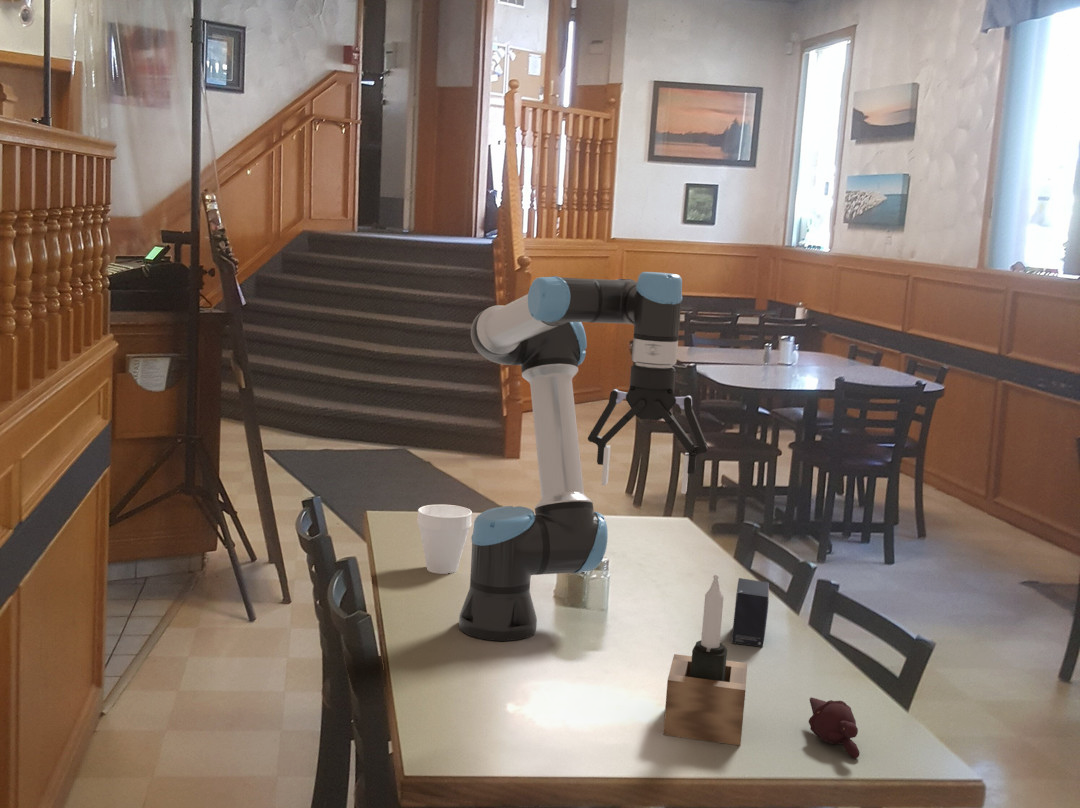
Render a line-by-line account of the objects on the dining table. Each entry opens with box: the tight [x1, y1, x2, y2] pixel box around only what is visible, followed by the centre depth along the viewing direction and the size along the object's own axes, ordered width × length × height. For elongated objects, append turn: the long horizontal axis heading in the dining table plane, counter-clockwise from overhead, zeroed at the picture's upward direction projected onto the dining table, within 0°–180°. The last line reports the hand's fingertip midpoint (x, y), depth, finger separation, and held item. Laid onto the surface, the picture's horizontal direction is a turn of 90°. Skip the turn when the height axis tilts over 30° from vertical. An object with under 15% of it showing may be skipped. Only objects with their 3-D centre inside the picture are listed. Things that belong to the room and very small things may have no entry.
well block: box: [662, 653, 748, 746], centre depth 188 cm, size 12×12×9 cm
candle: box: [690, 574, 728, 681], centre depth 187 cm, size 5×5×25 cm
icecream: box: [808, 696, 860, 760], centre depth 185 cm, size 7×7×15 cm
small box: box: [730, 577, 770, 648], centre depth 232 cm, size 11×6×10 cm, turn 168°
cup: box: [416, 504, 473, 575], centre depth 265 cm, size 12×12×14 cm
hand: (644, 488), depth 201 cm, fingers open, 13 cm apart
